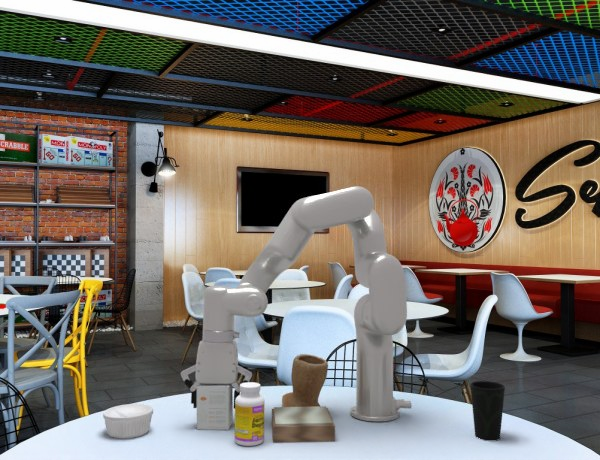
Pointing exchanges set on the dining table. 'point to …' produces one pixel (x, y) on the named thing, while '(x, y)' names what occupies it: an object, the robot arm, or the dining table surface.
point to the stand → (302, 424)
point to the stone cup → (306, 381)
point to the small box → (214, 406)
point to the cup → (487, 408)
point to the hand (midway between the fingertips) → (215, 406)
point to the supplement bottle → (249, 415)
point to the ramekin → (128, 420)
